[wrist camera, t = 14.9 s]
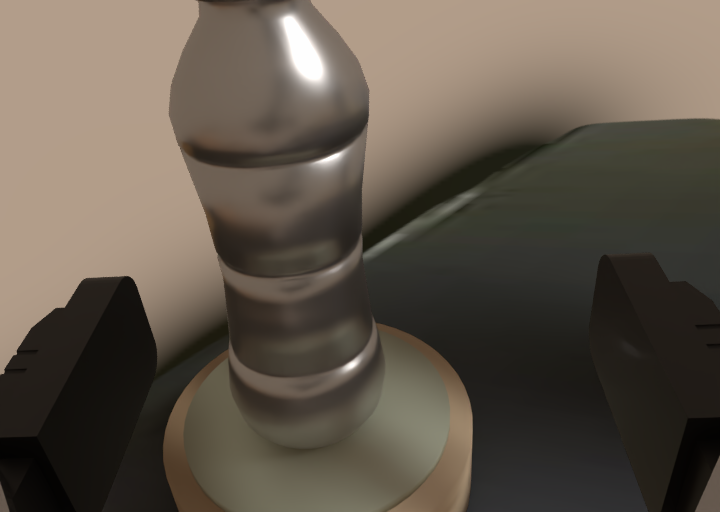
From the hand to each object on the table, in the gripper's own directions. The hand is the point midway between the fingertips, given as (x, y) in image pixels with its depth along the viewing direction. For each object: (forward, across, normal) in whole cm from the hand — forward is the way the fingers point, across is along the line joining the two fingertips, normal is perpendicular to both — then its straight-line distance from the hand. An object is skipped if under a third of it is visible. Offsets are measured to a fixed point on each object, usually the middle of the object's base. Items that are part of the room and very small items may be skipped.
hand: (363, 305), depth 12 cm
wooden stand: (+12, +4, +20) cm, 23 cm away
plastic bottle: (+12, +4, +16) cm, 20 cm away
